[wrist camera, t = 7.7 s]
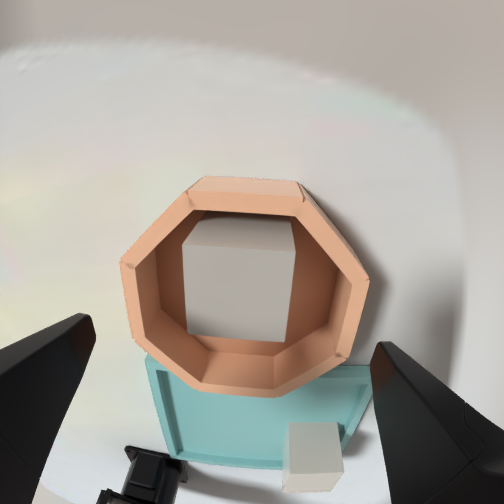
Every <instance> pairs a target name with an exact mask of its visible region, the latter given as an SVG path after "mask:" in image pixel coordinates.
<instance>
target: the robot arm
mask: <svg viewBox="0 0 504 504" xmlns="http://www.w3.org/2000/svg"><path fill="white" fill-rule="evenodd" d="M95 342H96V333H95V330H94V326H93V322H92V319H91V317H90V315H88V314H83V313H78V314H75V315H73V316H71V317H69V318H67V319H64V320H62V321H60V322H58V323H56V324H54V325H52V326H49V327H47V328H45V329H43V330H41V331H39V332H37V333H34V334H32V335H30V336H28V337H26V338H24V339H22V340H19V341H17V342H15V343H13V344H11V345H9V346H7V347H5V348H3V349H0V504H32V501H33V498H34V495H35V492H36V489H37V486H38V483H39V480H40V477H41V474H42V471H43V469H44V466H45V463H46V461H47V458H48V456H49V453H50V450H51V448H52V445H53V443H54V441H55V438H56V436H57V433H58V431H59V428H60V426H61V424H62V421H63V419H64V417H65V415H66V412H67V410H68V408H69V406H70V403H71V401H72V399H73V397H74V395H75V392H76V390H77V388H78V386H79V384H80V382H81V379H82V377H83V374H84V372H85V369H86V366H87V363H88V361H89V358H90V355H91V352H92V350H93V347H94V344H95ZM370 374H371V382H372V391H373V401H374V410H375V415H376V420H377V424H378V429H379V434H380V439H381V444H382V449H383V455H384V460H385V466H386V472H387V477H388V484H389V490H390V497H391V503H392V504H504V430H502V429H501V428H500V427H498V426H497V425H495V424H494V423H492V422H491V421H489V420H488V419H487V418H485V417H484V416H483V415H481V414H480V413H479V412H478V411H476V410H475V409H474V408H473V407H471V406H470V405H469V404H468V403H465V401H464V400H463V399H462V398H460V397H459V396H458V395H457V394H456V393H454V392H453V391H452V390H451V389H449V388H448V387H447V386H446V385H444V384H443V383H442V382H441V381H440V380H438V379H437V378H436V377H435V376H433V375H432V374H431V373H430V372H428V371H427V370H426V369H425V368H423V367H422V366H421V365H420V364H419V363H417V362H416V361H415V360H414V359H412V358H411V357H410V356H409V355H407V354H406V353H405V352H404V351H402V350H401V349H400V348H399V347H397V346H396V345H395V344H394V343H392V342H390V341H380V342H378V343H377V345H376V348H375V351H374V353H373V356H372V359H371V362H370ZM124 450H125V452H126V454H127V456H128V458H129V460H130V461H131V465H130V468H129V471H128V474H127V477H126V480H125V482H124V485H123V488H122V491H121V494H119V493H116V492H114V491H112V490H111V489H109V488H107V490H101V493H100V495H99V498H98V500H97V503H96V504H174V502H175V498H176V494H177V490H178V485H179V482H182V483H187V480H188V479H187V475H186V472H185V468H184V465H183V461H182V460H180V459H175V458H171V457H170V456H168V455H163V454H159V453H154V452H150V451H145V450H141V449H137V448H133V447H129V446H126V447H125V449H124Z"/></svg>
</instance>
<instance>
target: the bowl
mask: <svg viewBox="0 0 504 504" xmlns="http://www.w3.org/2000/svg"><path fill="white" fill-rule="evenodd" d="M207 210H212V211H229V212H245V213H260V214H274V215H287V216H290V222H291V228H292V233H293V239H294V245H295V251H296V254H295V263H294V271H293V280H292V288H291V296H290V304H289V311H288V319H287V326H286V334H285V341H284V342H272V341H257V340H244V339H232V338H221V337H211V336H202V335H193V334H188V331H187V319H186V305H185V290H184V273H183V252H182V244H183V243H184V241H185V240H186V238H187V237H188V236H189V234H190V233H191V231H192V230H193V229H194V227H195V226H196V225H197V223H198V222H199V220H200V219H201V218H202V216H203V215H204V214H205V212H206V211H207ZM119 263H120V270H121V277H122V284H123V290H124V296H125V302H126V308H127V314H128V319H129V324H130V329H131V334H132V339H135V340H134V342H136V343H137V344H138V345H139V346H140V347H141V348H143V349H144V350H145V351H146V352H147V353H149V354H150V355H151V356H152V357H153V358H155V359H156V360H157V361H158V362H159V363H161V364H162V365H163V366H164V367H166V368H167V369H168V370H169V371H171V372H172V373H173V374H175V375H176V376H177V377H178V378H180V379H181V380H182V381H184V382H185V383H186V384H188V385H189V386H190V387H192V388H193V389H194V390H195V389H197V388H198V391H201V392H209V393H218V394H227V395H237V396H248V397H262V398H276V396H278V397H279V398H280V397H282V396H284V395H286V394H288V393H289V392H291V391H293V390H295V389H297V388H299V387H301V386H303V385H304V384H306V383H308V382H310V381H312V380H313V379H315V378H317V377H319V376H320V375H322V374H324V373H326V372H327V371H329V370H331V369H332V368H334V367H336V366H338V365H339V364H341V363H342V362H344V361H346V360H347V359H346V358H349V355H350V352H351V349H352V345H353V342H354V339H355V335H356V332H357V328H358V325H359V321H360V318H361V314H362V310H363V307H364V303H365V299H366V295H367V291H368V287H369V283H370V280H369V279H368V278H369V276H368V275H367V273H366V271H365V269H364V268H363V266H362V264H361V262H360V261H359V259H358V257H357V255H356V254H355V252H354V250H353V249H352V247H351V246H350V245H349V243H348V242H347V241H346V239H345V238H344V237H343V236H342V234H341V233H340V232H339V231H338V229H337V228H336V227H335V226H334V224H333V223H332V222H331V221H330V219H329V218H328V217H327V216H326V214H325V213H324V212H323V211H322V209H321V208H320V207H319V206H318V205H317V203H316V202H315V201H314V200H313V199H312V197H311V196H310V195H309V194H308V193H307V191H306V190H305V189H304V188H303V187H302V185H301V184H299V185H298V184H297V182H293V181H281V180H267V179H252V178H234V177H213V176H205V177H204V178H201V179H200V180H198V181H197V182H196V183H195V184H193V185H192V186H191V187H190V188H188V189H187V190H186V191H185V192H183V193H182V194H181V195H180V196H179V197H178V198H177V199H176V200H175V201H174V202H173V203H172V204H171V205H170V206H169V207H168V208H167V209H166V210H165V212H164V213H163V214H162V215H161V216H160V217H159V218H158V219H157V220H156V221H155V222H154V223H153V224H152V225H151V226H150V227H149V228H148V229H147V230H146V231H145V232H144V233H143V235H142V236H141V237H140V238H139V239H138V240H137V241H136V242H135V243H134V244H133V245H132V246H131V247H130V249H129V250H128V251H127V252H126V253H125V254H124V255H123V256H122V257H121V261H120V262H119Z"/></svg>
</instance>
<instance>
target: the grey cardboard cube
mask: <svg viewBox="0 0 504 504" xmlns="http://www.w3.org/2000/svg"><path fill="white" fill-rule="evenodd" d="M343 473H344V467H343V460H342V452H341V445H340V438H339V432H338V425H337V422H289V423H288V427H287V431H286V435H285V439H284V443H283V480H282V493H305V492H329V491H331V490H332V489H333V488H334V486H335V485H336V483H337V482H338V480H339V479H340V477H341V476H342V475H343Z"/></svg>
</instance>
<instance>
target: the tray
mask: <svg viewBox="0 0 504 504" xmlns="http://www.w3.org/2000/svg"><path fill="white" fill-rule="evenodd" d="M145 365H146V369H147V374H148V378H149V382H150V386H151V391H152V395H153V399H154V402H155V406H156V410H157V414H158V417H159V421H160V424H161V428H162V431H163V435H164V438H165V441H166V445H167V448H168V451H169V454H170V457H171V458H175V459H180V460H186V461H192V462H198V463H205V464H212V465H220V466H229V467H240V468H252V469H270V470H283V443H284V439H285V435H286V431H287V427H288V423H289V422H337V425H338V432H339V438H340V445H341V452H342V453H343V451H344V449H345V448H346V446H347V444H348V442H349V440H350V438H351V436H352V435H353V433H354V431H355V429H356V427H357V425H358V423H359V421H360V419H361V417H362V415H363V413H364V411H365V409H366V407H367V405H368V402H369V400H370V398H371V396H372V394H373V391H372V382H371V374H370V365H367V366H336V367H334V368H332V369H331V370H329V371H327V372H326V373H324V374H322V375H320V376H319V377H317V378H315V379H313V380H312V381H310V382H308V383H306V384H304V385H303V386H301V387H299V388H297V389H295V390H293V391H291V392H289V393H288V394H286V395H284V396H282V397H280V398H279V397H278V396H276V398H262V397H248V396H237V395H227V394H218V393H209V392H201V391H198V388H197V389H195V390H194V389H193V388H192V387H190V386H189V385H188V384H186V383H185V382H184V381H182V380H181V379H180V378H178V377H177V376H176V375H175V374H173V373H172V372H171V371H169V370H168V369H167V368H166V367H164V366H163V365H162V364H161V363H159V362H158V361H157V360H156V359H155V358H153V357H152V356H151V355H150V354H149V353H148V355H147V357H146V359H145Z"/></svg>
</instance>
